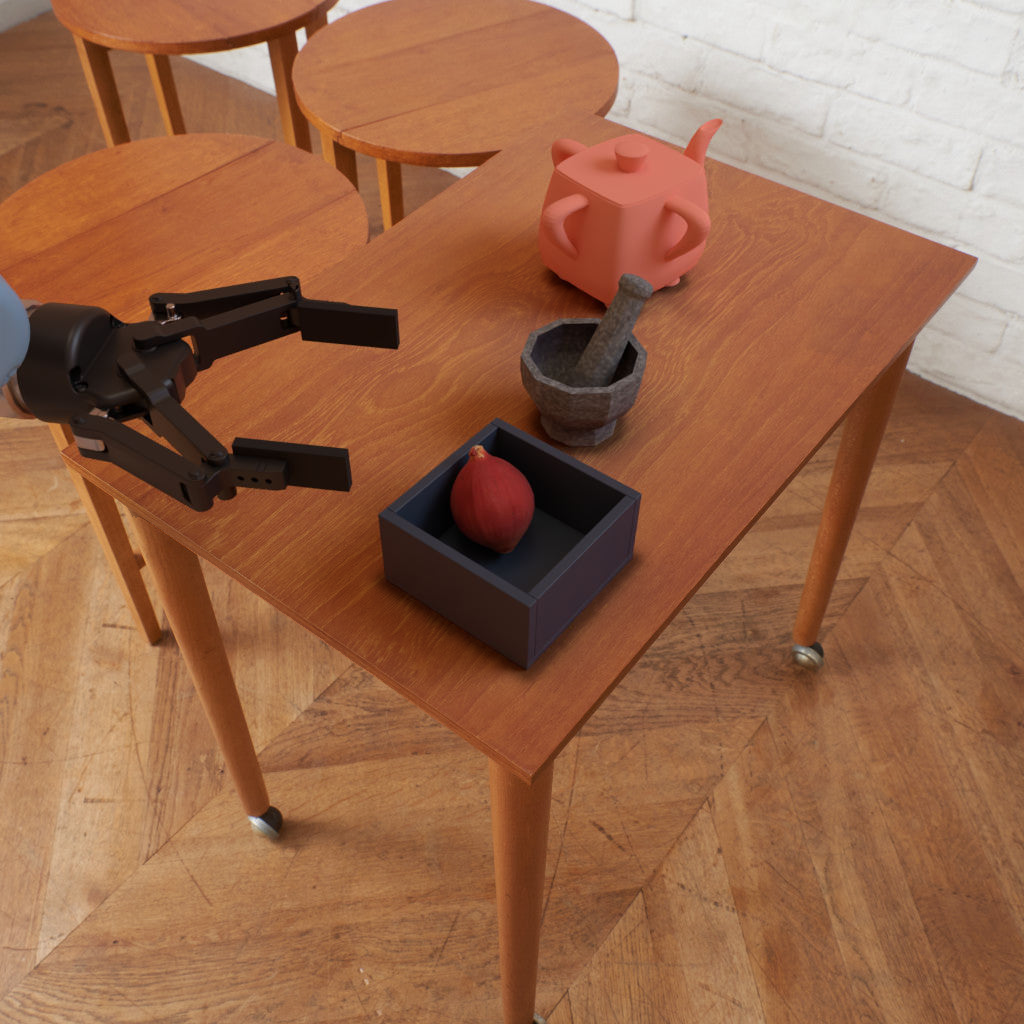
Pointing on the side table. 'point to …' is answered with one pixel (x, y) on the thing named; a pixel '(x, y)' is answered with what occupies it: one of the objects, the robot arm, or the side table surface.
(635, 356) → the mortar and pestle
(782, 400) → the side table surface
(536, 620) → the dark blue open box
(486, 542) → the onion
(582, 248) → the teapot
